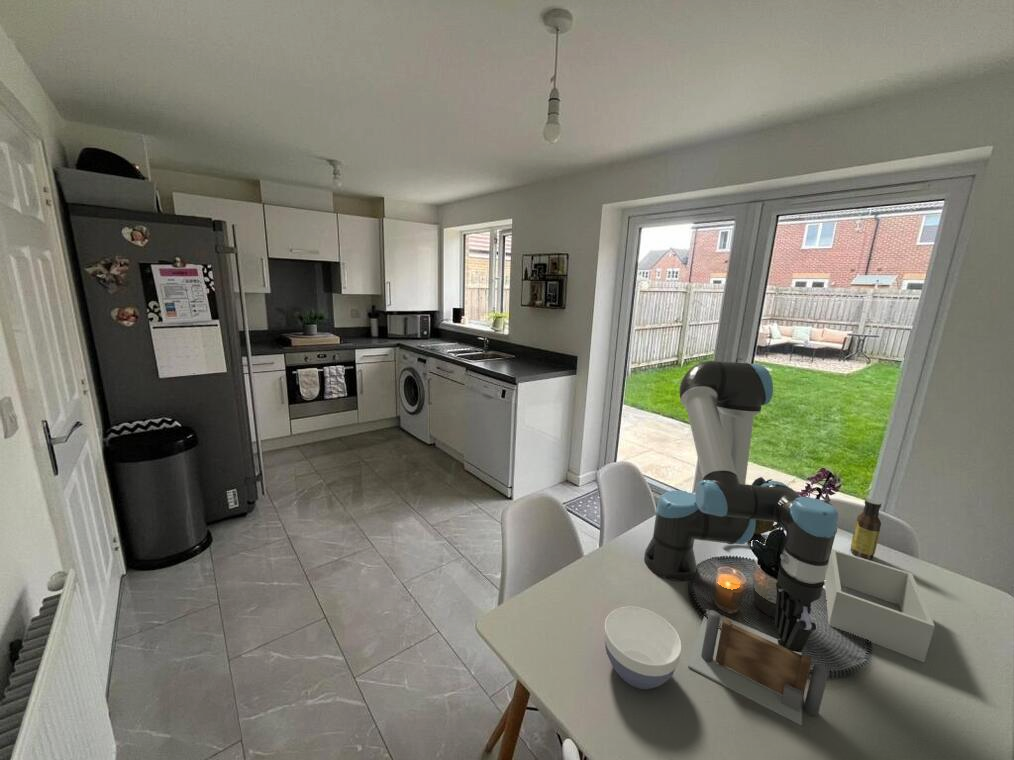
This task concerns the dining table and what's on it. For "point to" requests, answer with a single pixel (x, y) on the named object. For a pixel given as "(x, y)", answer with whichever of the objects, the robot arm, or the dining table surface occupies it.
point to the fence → (747, 687)
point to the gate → (761, 659)
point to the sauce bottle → (867, 531)
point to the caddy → (872, 620)
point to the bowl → (641, 646)
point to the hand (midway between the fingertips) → (780, 667)
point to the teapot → (760, 524)
